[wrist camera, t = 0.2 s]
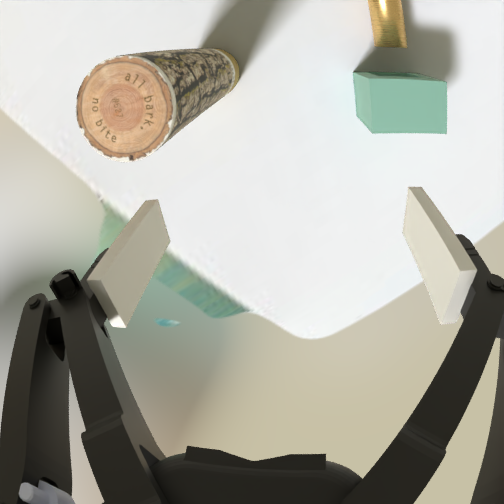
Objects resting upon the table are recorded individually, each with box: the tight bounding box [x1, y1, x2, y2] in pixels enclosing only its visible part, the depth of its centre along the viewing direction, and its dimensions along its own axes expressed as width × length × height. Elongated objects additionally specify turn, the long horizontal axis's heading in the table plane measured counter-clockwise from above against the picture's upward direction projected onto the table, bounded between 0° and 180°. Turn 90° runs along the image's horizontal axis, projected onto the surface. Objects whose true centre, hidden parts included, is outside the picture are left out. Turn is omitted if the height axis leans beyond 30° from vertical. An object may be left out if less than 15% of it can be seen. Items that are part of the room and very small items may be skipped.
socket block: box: [353, 72, 447, 134], centre depth 31 cm, size 6×9×9 cm, turn 100°
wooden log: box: [76, 48, 239, 162], centre depth 26 cm, size 7×7×25 cm
